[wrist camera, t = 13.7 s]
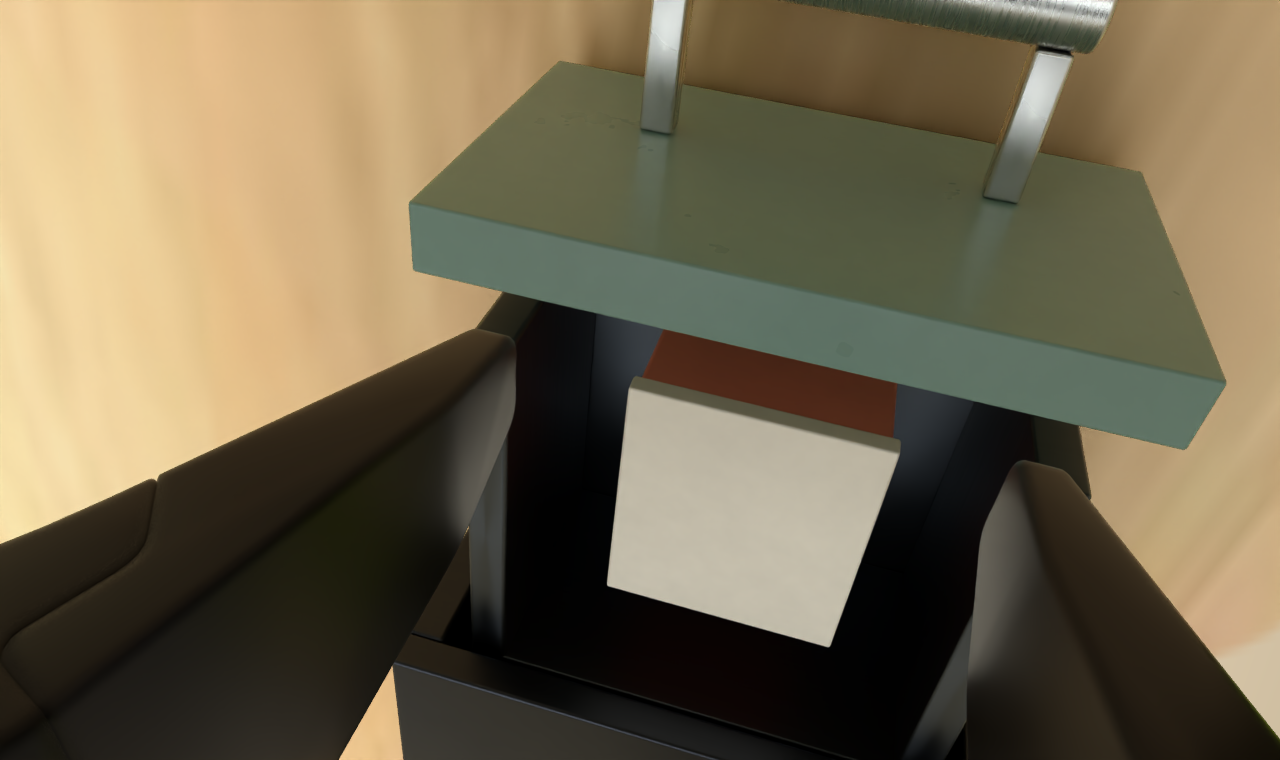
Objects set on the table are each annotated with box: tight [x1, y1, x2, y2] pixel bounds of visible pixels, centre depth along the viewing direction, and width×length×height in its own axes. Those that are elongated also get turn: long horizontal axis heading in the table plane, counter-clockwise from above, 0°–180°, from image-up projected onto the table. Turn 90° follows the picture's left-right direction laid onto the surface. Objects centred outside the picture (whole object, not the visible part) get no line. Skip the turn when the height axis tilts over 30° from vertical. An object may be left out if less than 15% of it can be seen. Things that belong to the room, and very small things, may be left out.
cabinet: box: [393, 529, 968, 760], centre depth 26 cm, size 13×13×9 cm
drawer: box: [409, 0, 1226, 760], centre depth 18 cm, size 15×11×7 cm
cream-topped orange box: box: [607, 329, 901, 647], centre depth 19 cm, size 5×5×5 cm
